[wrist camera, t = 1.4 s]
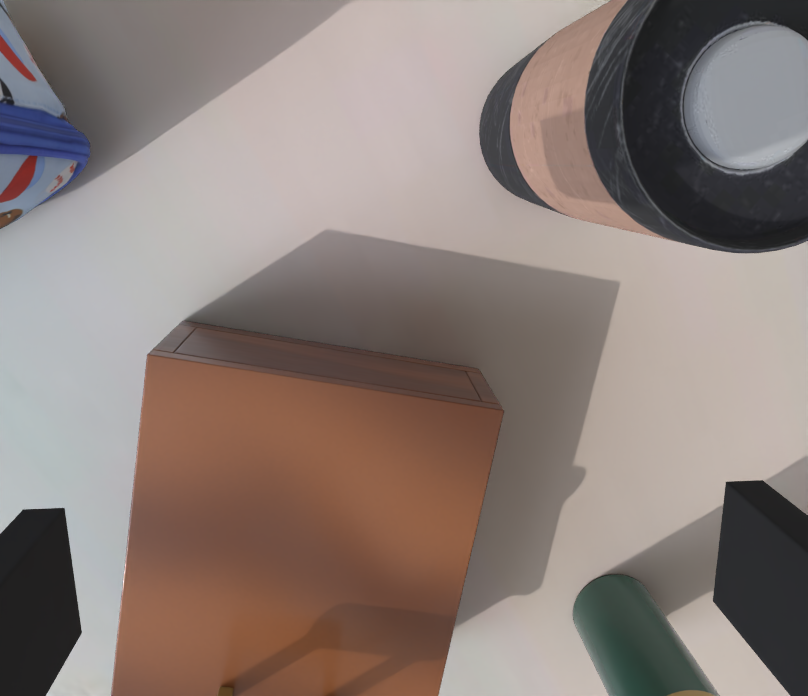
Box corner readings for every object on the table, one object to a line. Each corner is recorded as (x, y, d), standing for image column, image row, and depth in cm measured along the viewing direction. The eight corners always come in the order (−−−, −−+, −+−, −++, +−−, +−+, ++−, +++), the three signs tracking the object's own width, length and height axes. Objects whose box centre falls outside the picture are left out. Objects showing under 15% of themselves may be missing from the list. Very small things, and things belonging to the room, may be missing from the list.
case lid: (424, 738, 38) (439, 860, 31) (113, 706, 36) (60, 828, 29) (501, 404, 33) (537, 464, 27) (152, 349, 32) (99, 398, 25)
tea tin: (639, 648, 44) (729, 802, 34) (563, 639, 44) (630, 792, 33) (660, 578, 43) (761, 714, 33) (582, 567, 43) (659, 703, 32)
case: (417, 650, 43) (426, 725, 38) (147, 619, 42) (115, 692, 36) (479, 368, 39) (500, 404, 34) (182, 320, 37) (152, 348, 32)
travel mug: (475, 212, 37) (608, 268, 18) (470, 52, 35) (615, -80, 16) (621, 203, 37) (908, 249, 18) (625, 45, 36) (950, -93, 16)
